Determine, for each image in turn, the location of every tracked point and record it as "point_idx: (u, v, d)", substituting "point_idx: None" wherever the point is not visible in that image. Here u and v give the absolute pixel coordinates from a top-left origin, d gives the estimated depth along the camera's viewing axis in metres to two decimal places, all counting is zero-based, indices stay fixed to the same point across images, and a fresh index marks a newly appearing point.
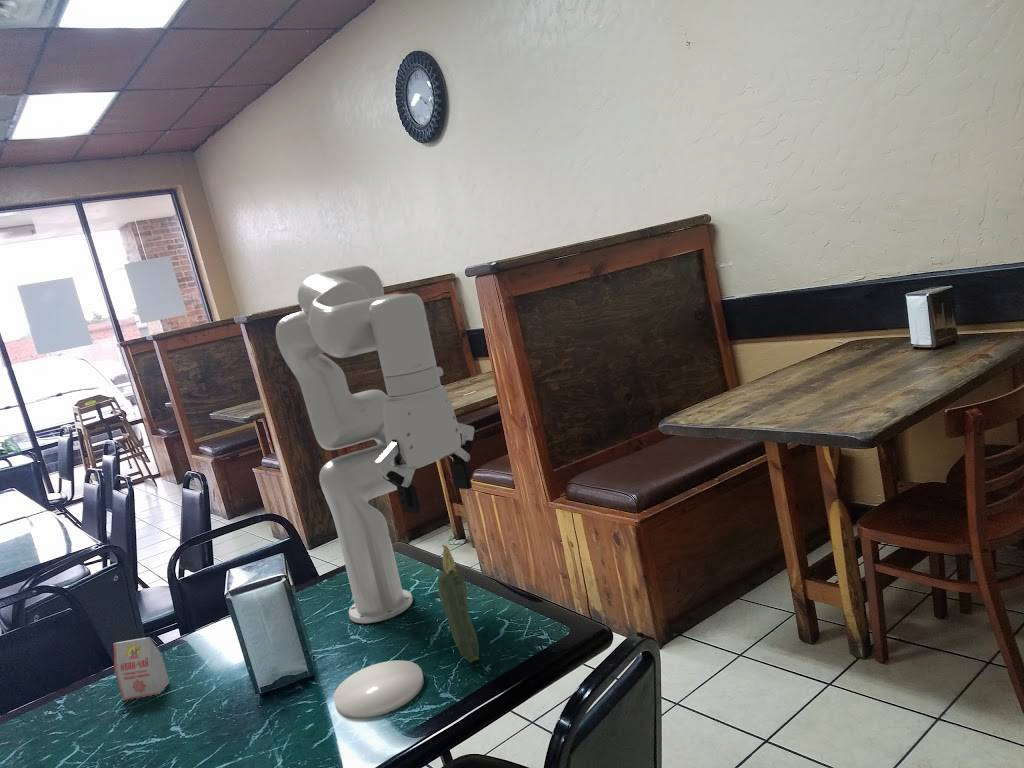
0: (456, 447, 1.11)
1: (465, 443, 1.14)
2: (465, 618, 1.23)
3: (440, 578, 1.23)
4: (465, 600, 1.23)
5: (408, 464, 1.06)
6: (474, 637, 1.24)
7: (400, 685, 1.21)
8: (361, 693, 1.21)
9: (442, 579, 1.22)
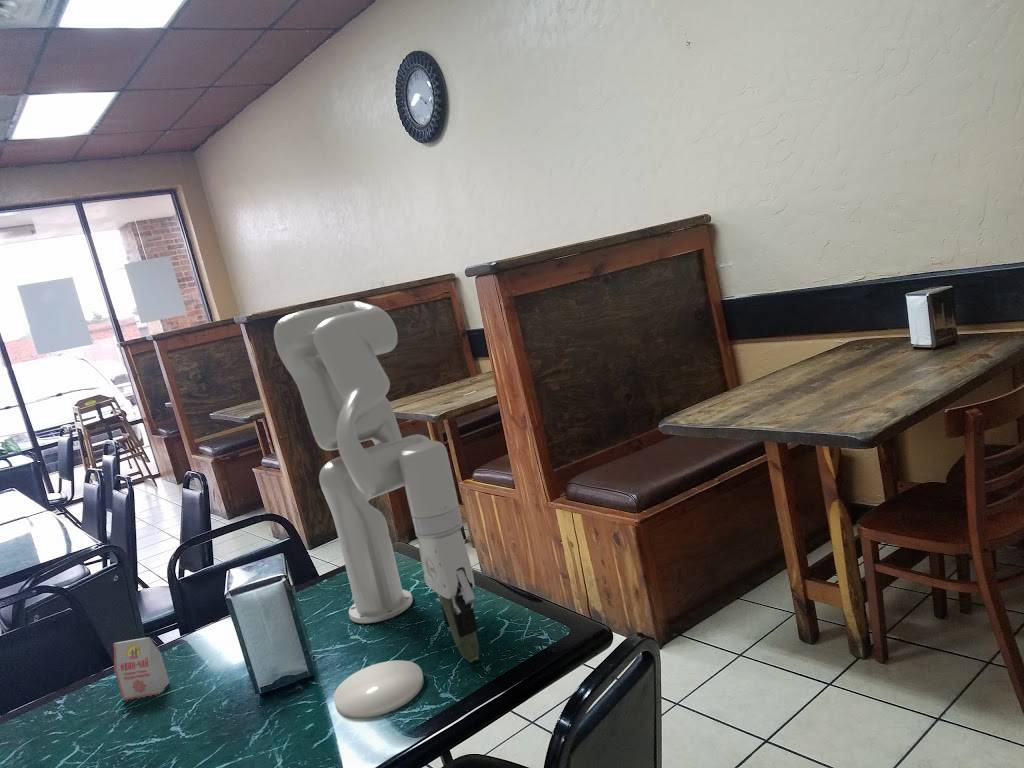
0: None
1: None
2: None
3: None
4: None
5: (473, 585, 1.20)
6: (474, 637, 1.24)
7: (400, 685, 1.21)
8: (361, 693, 1.21)
9: None
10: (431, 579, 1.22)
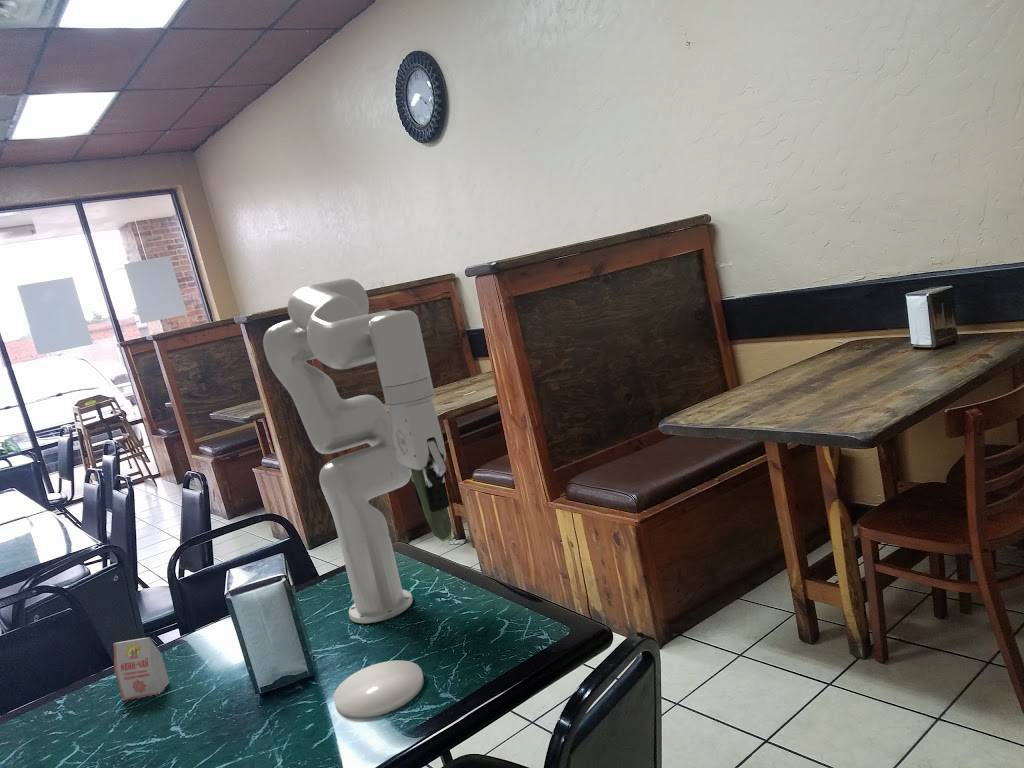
0: None
1: None
2: None
3: None
4: None
5: (445, 457, 1.17)
6: (446, 514, 1.21)
7: (400, 685, 1.21)
8: (361, 693, 1.21)
9: None
10: (402, 453, 1.19)
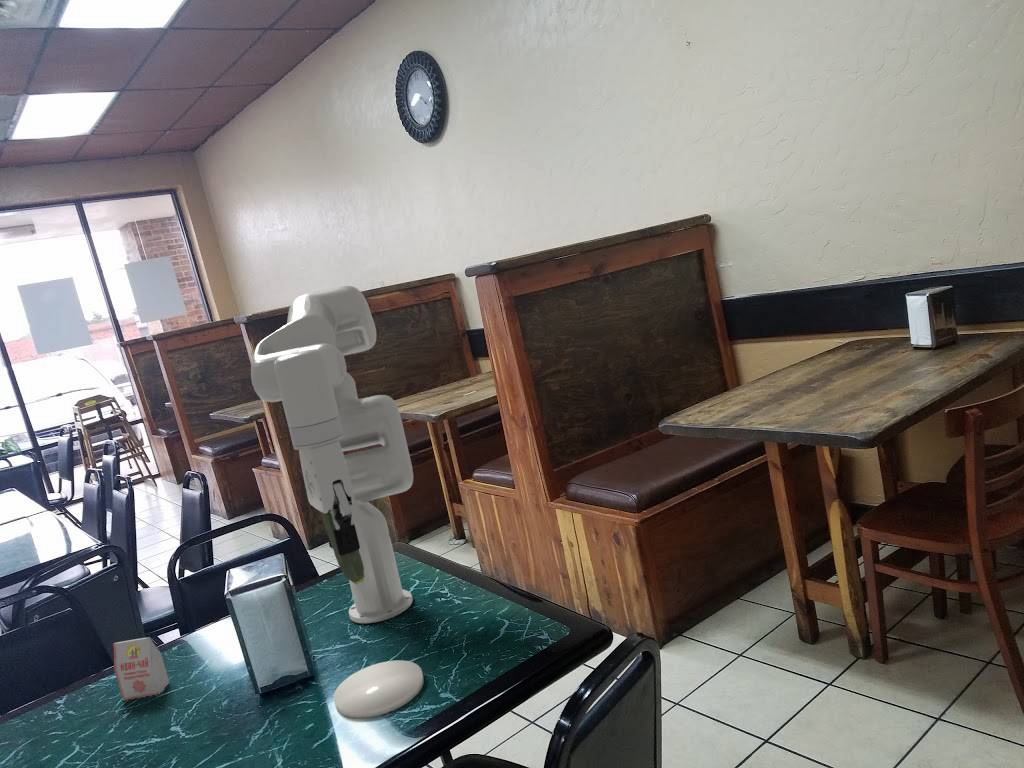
0: None
1: None
2: None
3: None
4: None
5: (352, 499, 1.14)
6: (357, 556, 1.18)
7: (400, 685, 1.21)
8: (361, 693, 1.21)
9: None
10: (311, 495, 1.17)
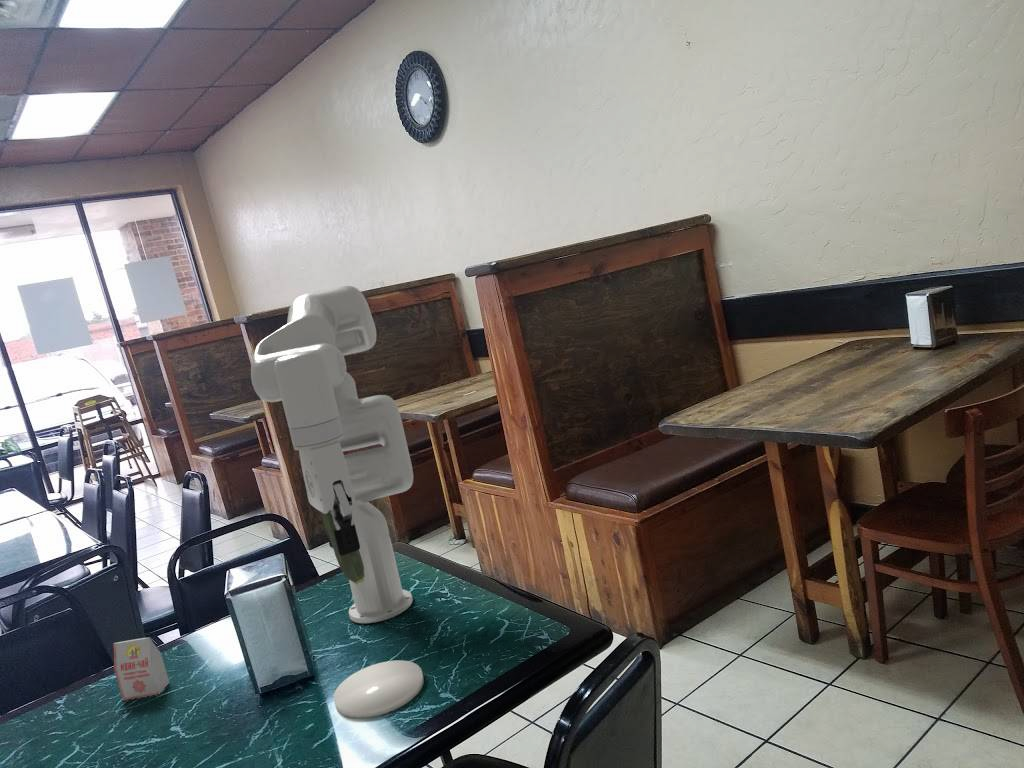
0: None
1: None
2: None
3: None
4: None
5: (353, 500, 1.14)
6: (357, 557, 1.18)
7: (400, 685, 1.21)
8: (361, 693, 1.21)
9: None
10: (311, 495, 1.17)
